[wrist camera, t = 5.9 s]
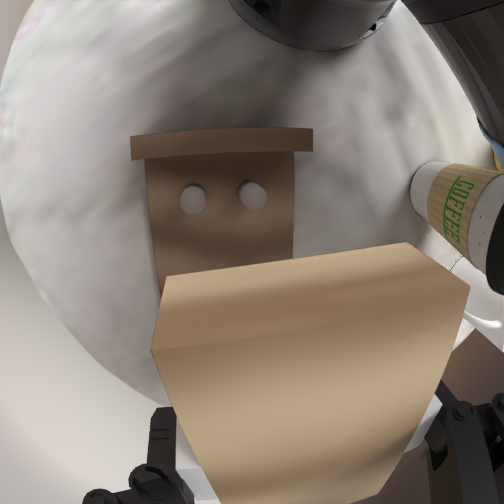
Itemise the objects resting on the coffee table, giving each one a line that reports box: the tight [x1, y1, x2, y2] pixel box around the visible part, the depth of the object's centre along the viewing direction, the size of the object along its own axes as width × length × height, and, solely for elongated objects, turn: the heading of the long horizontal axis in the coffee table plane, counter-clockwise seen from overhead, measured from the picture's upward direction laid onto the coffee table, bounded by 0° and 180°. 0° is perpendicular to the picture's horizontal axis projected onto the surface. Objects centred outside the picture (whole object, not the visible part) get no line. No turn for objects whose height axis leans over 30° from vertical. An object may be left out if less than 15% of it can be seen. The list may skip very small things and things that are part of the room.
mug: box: [450, 256, 504, 352], centre depth 28 cm, size 12×8×12 cm
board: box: [151, 242, 471, 504], centre depth 9 cm, size 12×7×3 cm, turn 6°
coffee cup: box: [410, 161, 504, 296], centre depth 21 cm, size 10×10×15 cm
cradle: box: [130, 128, 313, 299], centre depth 24 cm, size 18×12×6 cm, turn 2°
